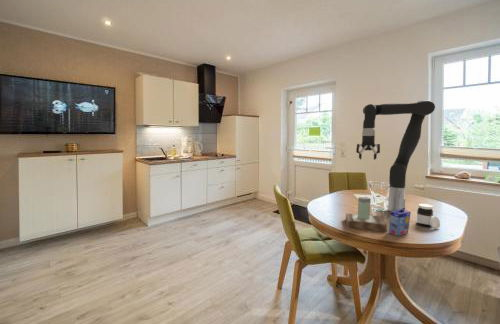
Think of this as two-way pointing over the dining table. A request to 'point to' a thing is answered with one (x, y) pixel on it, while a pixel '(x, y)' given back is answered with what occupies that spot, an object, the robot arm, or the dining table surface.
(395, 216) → the ink cartridge box
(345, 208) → the dining table surface
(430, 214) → the spread jar
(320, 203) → the dining table surface
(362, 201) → the block
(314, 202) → the dining table surface
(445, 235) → the dining table surface
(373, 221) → the dock
